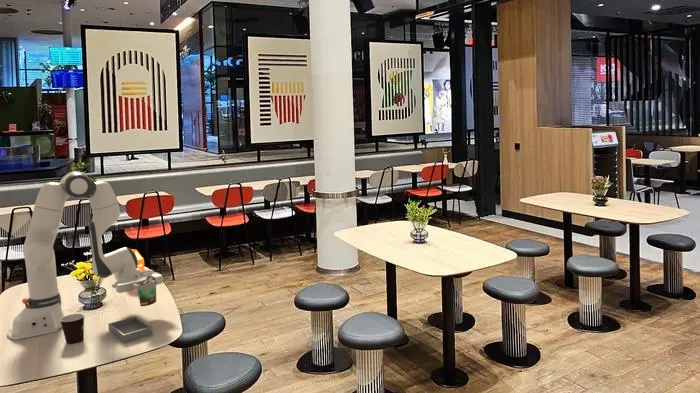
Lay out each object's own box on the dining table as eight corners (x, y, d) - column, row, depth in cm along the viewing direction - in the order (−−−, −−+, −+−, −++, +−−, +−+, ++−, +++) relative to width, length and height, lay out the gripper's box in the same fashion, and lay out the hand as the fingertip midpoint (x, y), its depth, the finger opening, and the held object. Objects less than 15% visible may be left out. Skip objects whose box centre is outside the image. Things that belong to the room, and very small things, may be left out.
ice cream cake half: (153, 307, 235) (151, 285, 233) (139, 307, 236) (136, 285, 233) (163, 296, 247) (161, 275, 245) (149, 296, 248) (147, 275, 245)
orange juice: (136, 284, 300) (133, 247, 298) (146, 285, 295) (143, 248, 293) (123, 287, 293) (120, 250, 292) (132, 288, 288) (130, 250, 287)
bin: (124, 343, 220) (123, 335, 220) (109, 331, 234) (108, 323, 233) (152, 335, 228) (151, 327, 227) (136, 323, 241) (135, 316, 241)
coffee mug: (77, 345, 220) (74, 322, 219) (58, 345, 222) (55, 321, 220) (95, 334, 231) (93, 311, 230) (77, 333, 233) (74, 310, 231)
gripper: (109, 278, 244) (120, 285, 233) (155, 268, 257) (167, 274, 247) (110, 292, 245) (122, 299, 234) (156, 281, 258) (168, 288, 248)
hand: (145, 286), depth 241 cm, fingers open, 3 cm apart
